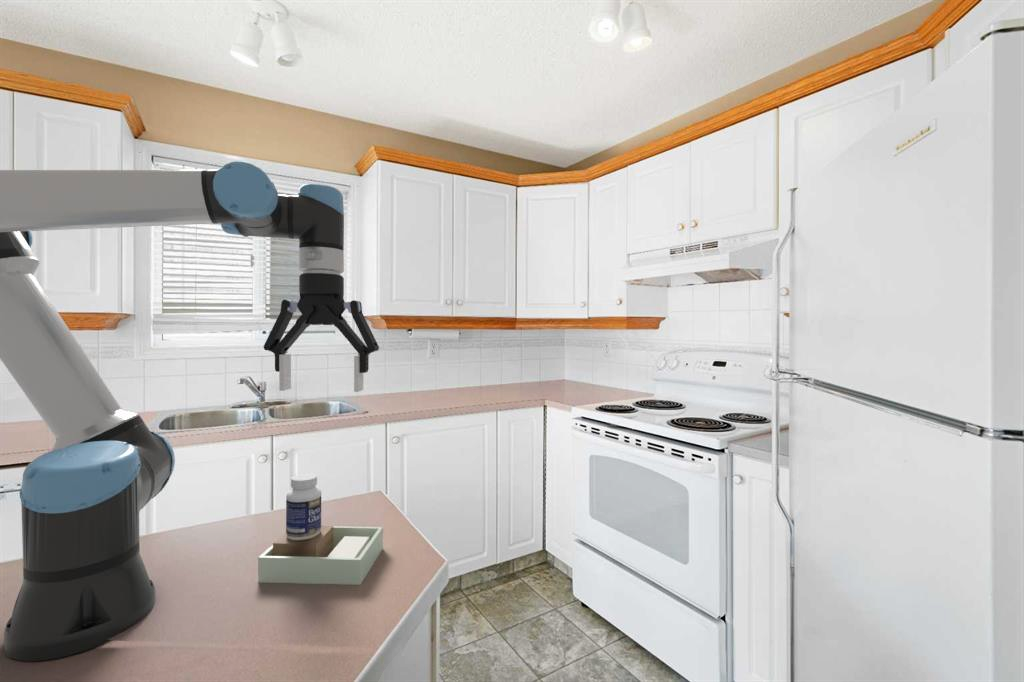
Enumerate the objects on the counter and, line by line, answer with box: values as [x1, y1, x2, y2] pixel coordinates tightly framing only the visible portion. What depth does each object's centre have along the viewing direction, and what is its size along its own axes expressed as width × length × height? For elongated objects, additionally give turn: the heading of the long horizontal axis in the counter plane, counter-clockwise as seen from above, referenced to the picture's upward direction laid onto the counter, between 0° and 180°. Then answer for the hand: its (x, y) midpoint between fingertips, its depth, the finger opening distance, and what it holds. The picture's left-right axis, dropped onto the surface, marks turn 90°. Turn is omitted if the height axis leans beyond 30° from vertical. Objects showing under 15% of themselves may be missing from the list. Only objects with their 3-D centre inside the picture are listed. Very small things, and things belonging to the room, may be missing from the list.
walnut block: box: [272, 525, 334, 557], centre depth 80 cm, size 7×7×5 cm
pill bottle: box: [285, 473, 322, 541], centre depth 79 cm, size 5×5×10 cm
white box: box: [328, 536, 369, 558], centre depth 80 cm, size 4×8×3 cm, turn 179°
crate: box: [257, 525, 384, 586], centre depth 80 cm, size 16×12×4 cm
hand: (321, 390), depth 87 cm, fingers open, 13 cm apart
